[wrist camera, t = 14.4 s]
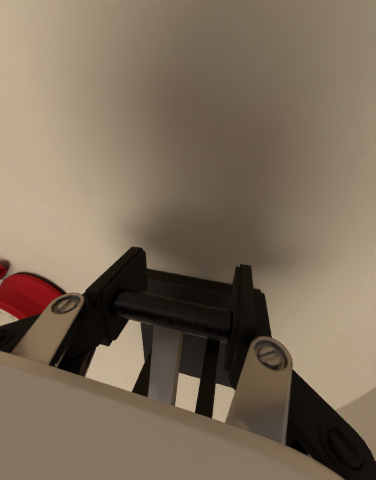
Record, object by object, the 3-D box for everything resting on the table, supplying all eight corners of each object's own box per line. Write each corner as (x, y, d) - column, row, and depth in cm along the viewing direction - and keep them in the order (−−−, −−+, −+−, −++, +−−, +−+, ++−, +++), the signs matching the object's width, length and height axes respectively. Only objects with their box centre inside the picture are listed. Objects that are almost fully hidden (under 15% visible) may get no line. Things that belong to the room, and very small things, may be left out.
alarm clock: (63, 381, 23) (-87, 349, 20) (88, 332, 28) (-28, 301, 25) (72, 336, 18) (-129, 284, 15) (101, 286, 23) (-43, 240, 20)
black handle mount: (142, 268, 17) (-10, 460, 7) (260, 290, 15) (305, 608, 5) (149, 352, 22) (71, 529, 12) (236, 376, 20) (232, 611, 10)
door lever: (131, 279, 10) (100, 301, 7) (232, 299, 9) (233, 332, 6) (121, 461, 12) (94, 522, 10) (200, 493, 11) (192, 570, 9)
